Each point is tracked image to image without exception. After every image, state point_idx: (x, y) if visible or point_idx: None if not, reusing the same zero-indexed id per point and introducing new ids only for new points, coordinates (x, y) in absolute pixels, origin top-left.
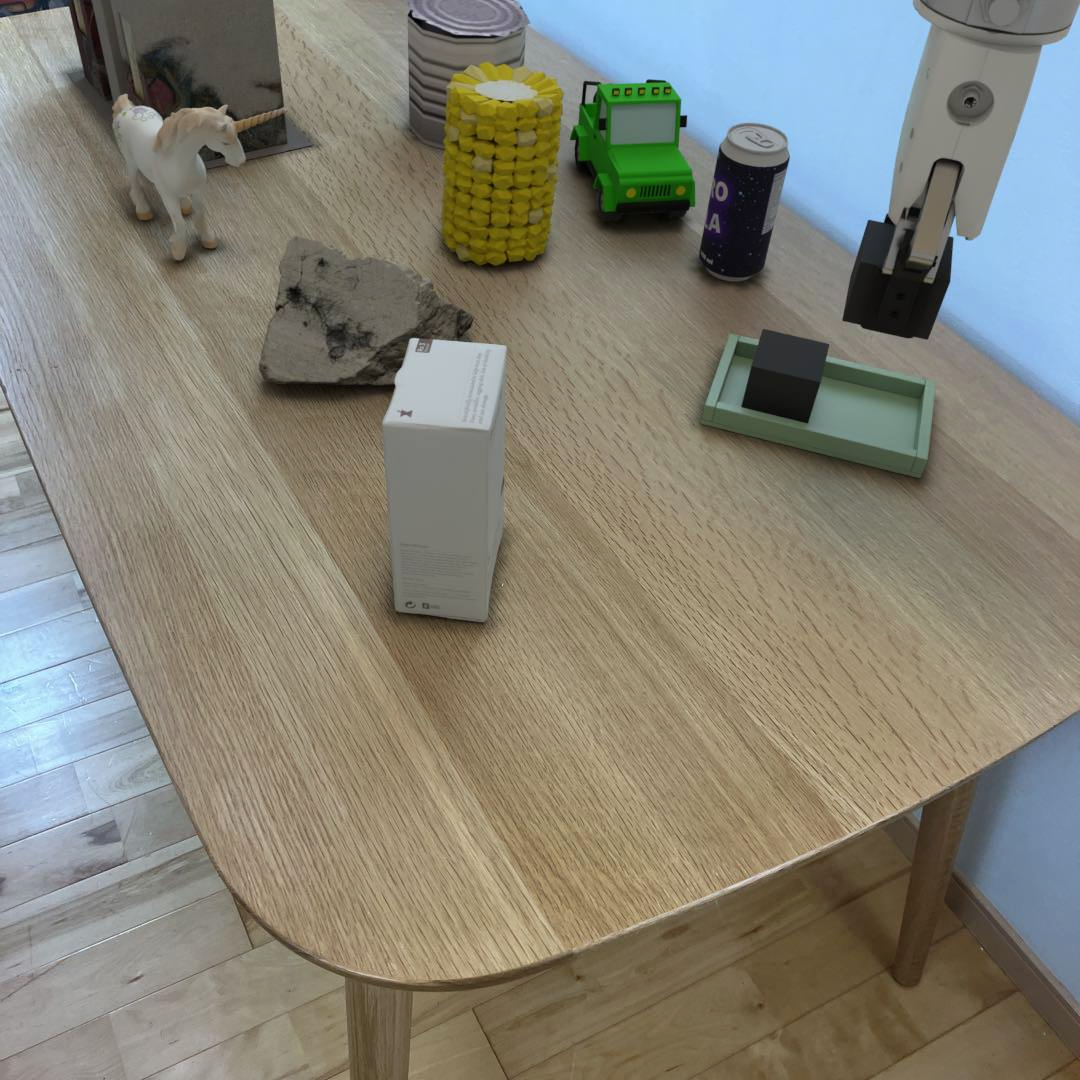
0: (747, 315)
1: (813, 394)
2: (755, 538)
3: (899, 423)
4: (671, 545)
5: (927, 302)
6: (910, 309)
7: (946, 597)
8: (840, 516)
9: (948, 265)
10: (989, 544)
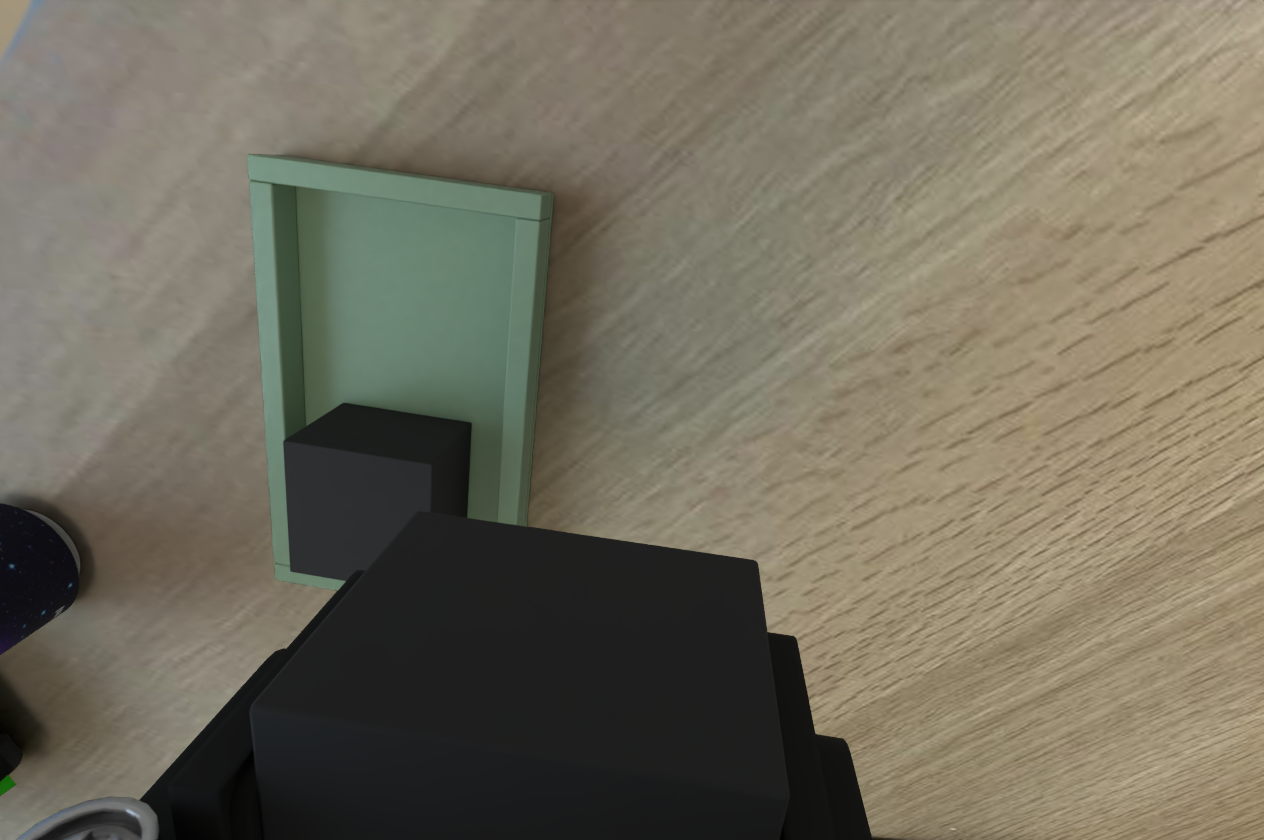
0: (168, 519)
1: (444, 457)
2: (796, 507)
3: (397, 233)
4: (836, 630)
5: (818, 767)
6: (864, 817)
7: (904, 157)
8: (707, 360)
9: (608, 783)
10: (727, 44)
